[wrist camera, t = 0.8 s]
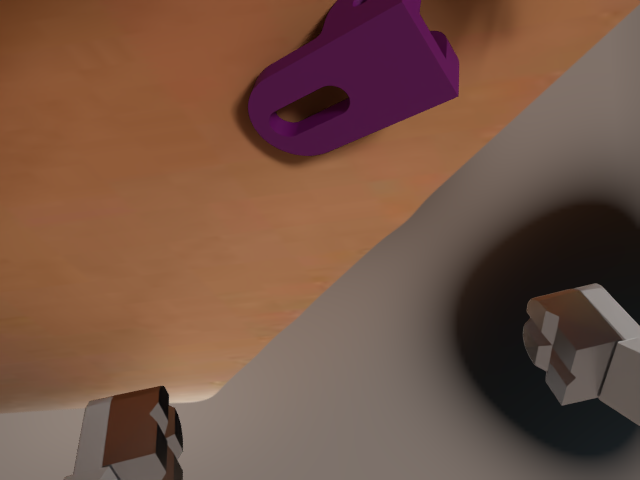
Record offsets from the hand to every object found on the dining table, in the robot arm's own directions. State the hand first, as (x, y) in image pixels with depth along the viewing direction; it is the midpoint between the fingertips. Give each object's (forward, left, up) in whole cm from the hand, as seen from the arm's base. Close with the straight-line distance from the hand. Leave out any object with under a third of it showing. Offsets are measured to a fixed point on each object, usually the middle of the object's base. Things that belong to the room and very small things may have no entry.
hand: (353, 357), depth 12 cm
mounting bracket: (+9, +8, -42) cm, 43 cm away
